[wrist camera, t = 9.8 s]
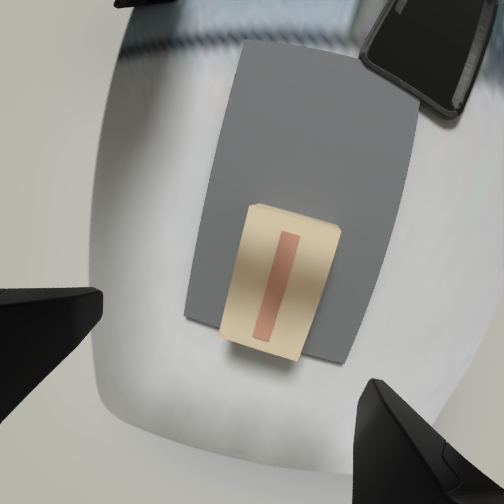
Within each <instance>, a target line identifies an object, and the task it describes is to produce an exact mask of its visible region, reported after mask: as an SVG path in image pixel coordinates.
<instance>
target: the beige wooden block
mask: <svg viewBox="0 0 504 504" xmlns="http://www.w3.org/2000/svg"><path fill="white" fill-rule="evenodd" d="M340 235H341V230H340V228H339V226H338V225H335V224H332V223H328V222H325V221H322V220H318V219H315V218H311V217H308V216H304V215H301V214H297V213H294V212H290V211H286V210H283V209H279V208H276V207H272V206H268V205H264V204H261V203H259V204H254V205H250V206H249V209H248V213H247V217H246V221H245V225H244V229H243V233H242V237H241V241H240V246H239V250H238V254H237V258H236V262H235V266H234V271H233V275H232V279H231V283H230V287H229V292H228V296H227V300H226V304H225V309H224V313H223V317H222V322H221V326H220V330H219V334H218V337H221V338H224V339H227V340H230V341H233V342H236V343H239V344H242V345H245V346H248V347H251V348H254V349H258V350H261V351H264V352H267V353H270V354H274V355H277V356H280V357H284V358H287V359H290V360H294V361H297V362H298V359H299V356H300V354H301V351H302V348H303V346H304V343H305V340H306V338H307V335H308V332H309V329H310V327H311V324H312V321H313V318H314V315H315V312H316V310H317V307H318V304H319V301H320V298H321V295H322V292H323V289H324V286H325V283H326V280H327V277H328V274H329V270H330V267H331V264H332V261H333V258H334V255H335V251H336V248H337V245H338V241H339V238H340Z"/></svg>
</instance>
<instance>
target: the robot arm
mask: <svg viewBox="0 0 504 504" xmlns="http://www.w3.org/2000/svg"><path fill="white" fill-rule="evenodd" d="M172 1H174V0H115V2H114V7H116V8H124V7H135V6H142V5H149V4H153V3H162V2H172ZM102 314H103V293H102V291H100V290H98V289H96V288H94V287H79V288H24V289H23V288H20V289H0V424H1V423H2V421H3V420H4V419H5V418H6V417H7V416H8V415H9V414H10V413H11V412H12V411H13V410H14V409H15V408H16V407H17V406H18V405H19V403H20V402H22V401H23V399H24V398H25V397H26V396H27V395H28V394H29V393H30V392H31V391H32V390H33V389H34V388H35V387H36V386H37V385H38V384H39V383H40V382H41V381H42V380H43V379H44V378H45V377H46V376H47V375H48V374H49V373H50V372H51V371H52V370H53V369H55V368H56V366H58V365H59V364H60V362H61V361H62V360H64V359H65V358H66V357H67V356H68V355H69V354H70V353H71V352H72V351H73V350H74V349H75V348H76V347H77V346H78V345H79V344H80V342H81V341H82V340H83V339H84V338H85V336H87V334H88V333H89V332H90V331H91V330H92V329H93V327H94V326H95V325H96V324H97V323H98V322H99V320H100V319H101V317H102ZM352 504H504V489H503V488H502V487H500V486H499V485H497V484H496V483H495V482H494V481H492V480H491V479H490V478H489V477H487V476H486V475H485V474H483V473H482V472H481V471H480V470H479V469H477V468H476V467H475V466H474V465H472V464H471V463H470V462H469V461H468V460H466V459H465V458H464V457H463V456H462V455H461V454H459V452H457V451H456V450H455V449H454V448H453V447H452V446H451V445H450V444H449V443H448V442H447V443H446V440H445V439H444V438H443V437H442V436H441V435H439V434H438V433H437V432H436V431H435V430H434V429H433V428H432V427H431V426H430V425H429V424H428V423H427V422H426V421H425V420H424V419H423V418H422V417H421V416H420V415H419V414H418V413H417V412H416V411H414V410H413V409H412V408H411V407H410V406H409V405H408V404H407V403H406V402H405V401H404V400H403V399H402V398H401V397H400V396H399V395H398V394H397V393H396V392H395V391H394V390H393V389H392V388H391V387H389V386H388V385H387V384H386V383H385V382H384V381H383V380H379V379H374V378H372V379H370V380H369V381H368V383H367V385H366V387H365V389H364V391H363V393H362V395H361V397H360V399H359V401H358V405H357V415H356V425H355V434H354V443H353V499H352Z"/></svg>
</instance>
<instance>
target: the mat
mask: <svg viewBox="0 0 504 504" xmlns="http://www.w3.org/2000/svg"><path fill="white" fill-rule="evenodd" d="M419 105H420V99H419V98H417V97H416V96H414V95H413V94H411V93H410V92H408V91H406V90H405V89H403V88H402V87H400V86H398V85H397V84H395V83H394V82H392V81H390V80H389V79H387V78H385V77H383V76H382V75H380V74H378V73H376V72H375V71H373V70H371V69H369V68H368V67H367V66H365V64H364V63H363V62H362V60H360V59H356V58H352V57H348V56H344V55H340V54H336V53H332V52H327V51H322V50H317V49H312V48H307V47H301V46H295V45H289V44H283V43H276V42H268V41H259V40H250V39H245V42H244V46H243V49H242V53H241V56H240V60H239V63H238V67H237V70H236V74H235V78H234V81H233V85H232V89H231V93H230V96H229V100H228V104H227V108H226V112H225V116H224V120H223V124H222V128H221V132H220V136H219V140H218V144H217V149H216V153H215V157H214V162H213V166H212V170H211V175H210V179H209V184H208V189H207V193H206V198H205V203H204V207H203V212H202V217H201V222H200V227H199V232H198V237H197V242H196V248H195V253H194V258H193V264H192V269H191V275H190V281H189V286H188V292H187V298H186V304H185V310H184V316H186V317H189V318H192V319H195V320H198V321H200V322H203V323H206V324H209V325H212V326H215V327H218V328H220V326H221V322H222V317H223V313H224V309H225V304H226V300H227V296H228V292H229V287H230V283H231V279H232V275H233V271H234V266H235V262H236V258H237V254H238V250H239V246H240V241H241V237H242V233H243V229H244V225H245V221H246V217H247V213H248V209H249V206H250V205H254V204H259V203H261V204H264V205H268V206H272V207H276V208H279V209H283V210H286V211H290V212H294V213H297V214H301V215H304V216H308V217H311V218H315V219H318V220H322V221H325V222H328V223H332V224H335V225H338V226H339V228H340V230H341V235H340V238H339V241H338V245H337V248H336V251H335V255H334V258H333V261H332V264H331V267H330V270H329V274H328V277H327V280H326V283H325V286H324V289H323V292H322V295H321V298H320V301H319V304H318V307H317V310H316V312H315V315H314V318H313V321H312V324H311V327H310V329H309V332H308V335H307V338H306V340H305V343H304V346H303V348H302V351H301V353H304V354H308V355H311V356H315V357H319V358H323V359H327V360H331V361H335V362H339V363H343V364H344V363H345V361H346V359H347V356H348V354H349V352H350V349H351V347H352V345H353V342H354V340H355V337H356V335H357V332H358V330H359V327H360V325H361V322H362V320H363V317H364V314H365V312H366V309H367V306H368V304H369V301H370V298H371V295H372V293H373V290H374V287H375V284H376V281H377V278H378V275H379V272H380V269H381V266H382V263H383V260H384V257H385V254H386V250H387V247H388V244H389V240H390V237H391V234H392V230H393V227H394V223H395V219H396V216H397V212H398V208H399V204H400V200H401V196H402V192H403V188H404V184H405V180H406V175H407V171H408V166H409V161H410V157H411V152H412V147H413V141H414V136H415V130H416V124H417V118H418V112H419Z"/></svg>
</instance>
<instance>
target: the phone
mask: <svg viewBox="0 0 504 504" xmlns="http://www.w3.org/2000/svg"><path fill="white" fill-rule="evenodd" d="M497 7H498V1H497V0H388V2H387V3H386V5H385V7H384V8H383V10H382V12H381V14H380V15H379V17H378V19H377V21H376V22H375V24H374V26H373V28H372V29H371V31H370V33H369V34H368V36H367V38H366V40H365V41H364V43H363V45H362V47H361V49H360V53H359V59H360V60H362V62H363V63H364V64H365V66H367V67H368V68H369V69H371V70H373V71H375V72H376V73H378V74H380V75H382V76H383V77H385V78H387V79H389V80H390V81H392V82H394V83H395V84H397V85H398V86H400V87H402V88H403V89H405V90H406V91H408V92H410V93H411V94H413V95H414V96H416V97H417V98H419V99H420V103H421V104H422V105H423V106H425V107H426V108H428V109H429V110H431V111H432V112H433V113H435V114H436V115H438V116H439V117H441V118H443V119H446V120H451V119H454V118H456V117H457V116H459V115H460V114H461V113H462V111H463V109H464V107H465V104H466V102H467V99H468V97H469V94H470V92H471V89H472V87H473V84H474V81H475V79H476V76H477V73H478V70H479V67H480V65H481V62H482V59H483V56H484V53H485V50H486V46H487V43H488V40H489V37H490V33H491V30H492V26H493V23H494V19H495V15H496V11H497Z"/></svg>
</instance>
